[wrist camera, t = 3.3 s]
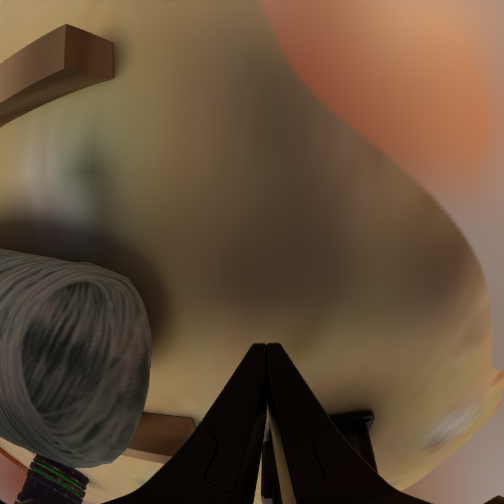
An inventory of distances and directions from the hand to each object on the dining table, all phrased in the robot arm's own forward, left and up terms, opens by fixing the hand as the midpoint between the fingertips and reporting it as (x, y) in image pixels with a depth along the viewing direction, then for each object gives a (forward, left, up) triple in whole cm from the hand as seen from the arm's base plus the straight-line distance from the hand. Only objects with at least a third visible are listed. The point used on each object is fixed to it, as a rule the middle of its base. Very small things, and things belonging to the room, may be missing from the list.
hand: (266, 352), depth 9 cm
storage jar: (+33, +34, -3) cm, 47 cm away
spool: (+11, 0, -3) cm, 11 cm away
